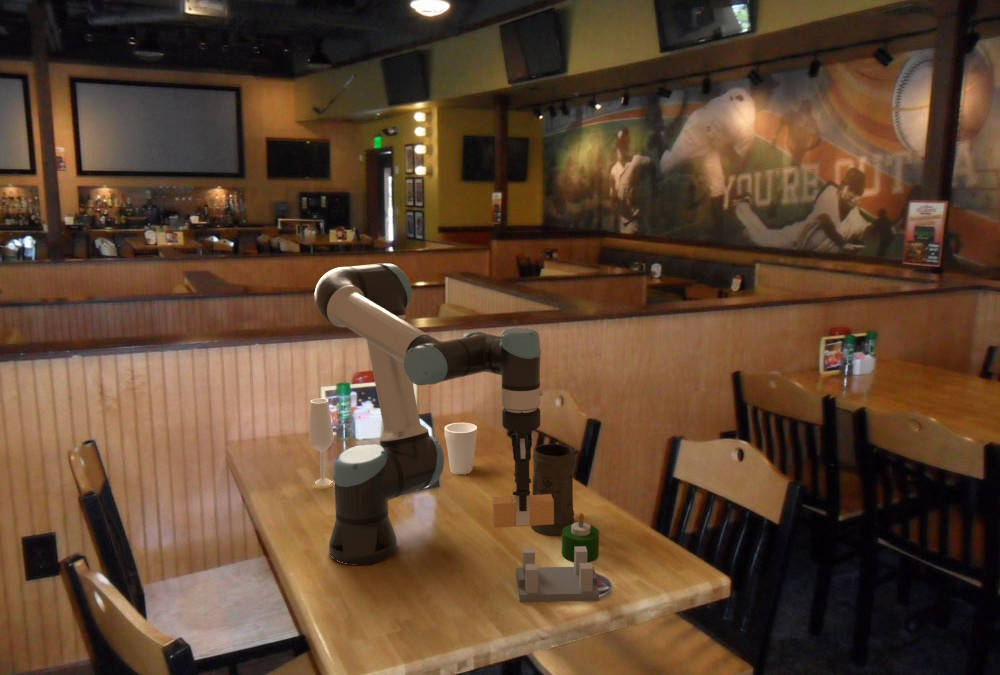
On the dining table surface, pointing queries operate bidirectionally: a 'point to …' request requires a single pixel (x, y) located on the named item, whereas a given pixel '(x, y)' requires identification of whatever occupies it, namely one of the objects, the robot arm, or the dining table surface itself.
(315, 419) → the champagne flute
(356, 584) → the dining table surface
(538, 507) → the block
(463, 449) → the foam cup
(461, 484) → the dining table surface
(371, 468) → the robot arm
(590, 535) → the candle
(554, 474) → the beer stein
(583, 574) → the jig
